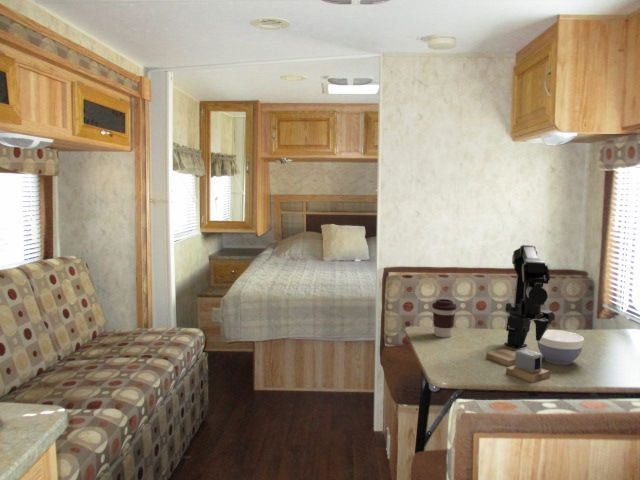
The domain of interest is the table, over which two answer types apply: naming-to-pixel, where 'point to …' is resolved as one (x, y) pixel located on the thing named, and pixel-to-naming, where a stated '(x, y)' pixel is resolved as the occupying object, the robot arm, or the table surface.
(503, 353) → the stand
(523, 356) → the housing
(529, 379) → the stand
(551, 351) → the bowl
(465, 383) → the table surface
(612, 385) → the table surface
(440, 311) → the coffee cup
